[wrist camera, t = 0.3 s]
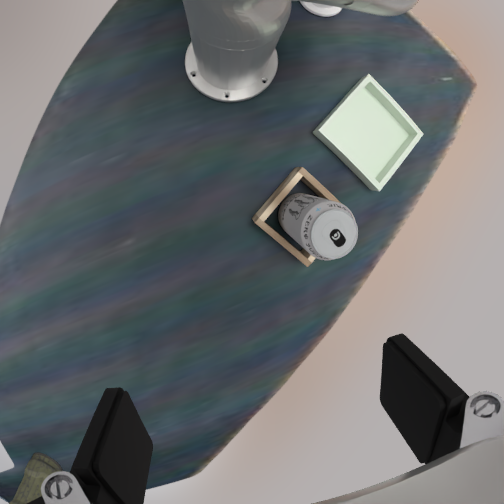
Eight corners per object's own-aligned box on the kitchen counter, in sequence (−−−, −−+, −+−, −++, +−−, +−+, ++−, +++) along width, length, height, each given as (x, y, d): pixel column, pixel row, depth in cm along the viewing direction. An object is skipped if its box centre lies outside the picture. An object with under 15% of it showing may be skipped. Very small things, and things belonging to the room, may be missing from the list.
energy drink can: (301, 183, 43) (340, 189, 29) (326, 217, 44) (374, 238, 30) (268, 211, 44) (292, 230, 29) (294, 244, 45) (328, 277, 30)
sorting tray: (360, 79, 40) (368, 74, 37) (413, 135, 43) (423, 134, 40) (311, 132, 41) (318, 130, 38) (370, 189, 44) (379, 191, 41)
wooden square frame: (295, 167, 42) (302, 166, 39) (341, 210, 44) (352, 214, 41) (251, 218, 44) (254, 222, 40) (300, 259, 46) (307, 267, 42)
